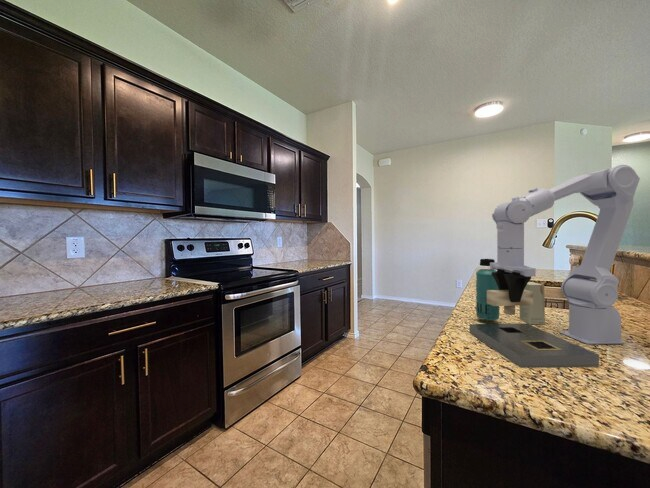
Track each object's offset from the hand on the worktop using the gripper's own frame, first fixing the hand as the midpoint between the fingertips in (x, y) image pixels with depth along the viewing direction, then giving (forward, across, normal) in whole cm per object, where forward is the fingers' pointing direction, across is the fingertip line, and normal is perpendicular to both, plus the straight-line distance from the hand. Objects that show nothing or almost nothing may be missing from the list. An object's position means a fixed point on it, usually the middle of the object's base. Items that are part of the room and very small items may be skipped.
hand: (510, 300), depth 70 cm
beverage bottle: (+11, -14, +3) cm, 18 cm away
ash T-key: (+3, 0, 0) cm, 4 cm away
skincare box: (+11, -14, +16) cm, 24 cm away
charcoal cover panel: (+10, +5, 0) cm, 12 cm away
